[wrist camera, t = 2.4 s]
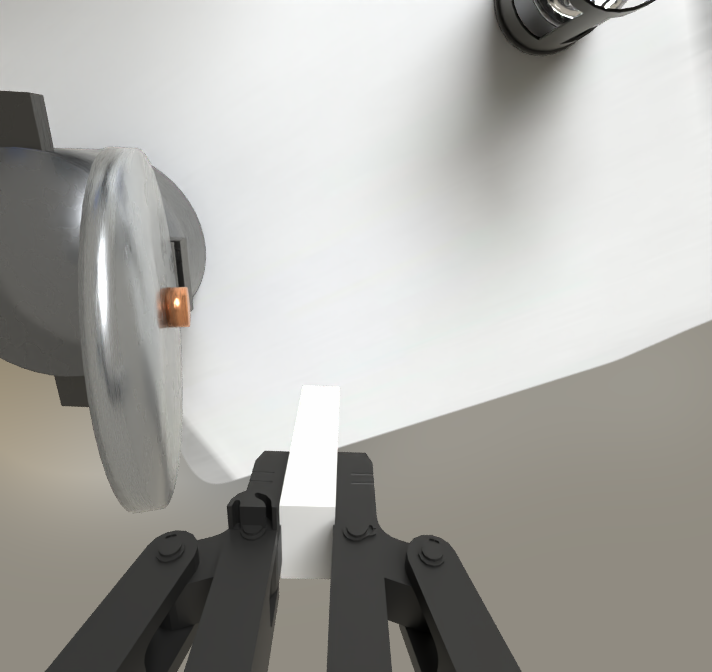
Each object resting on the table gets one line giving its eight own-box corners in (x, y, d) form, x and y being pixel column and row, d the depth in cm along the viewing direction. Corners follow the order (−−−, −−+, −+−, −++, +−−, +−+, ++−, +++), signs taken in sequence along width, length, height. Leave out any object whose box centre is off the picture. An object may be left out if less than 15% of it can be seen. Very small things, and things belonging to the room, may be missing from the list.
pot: (-6, 101, 39) (-143, 80, 28) (214, 114, 40) (163, 99, 29) (54, 350, 49) (-32, 407, 38) (230, 357, 50) (196, 415, 39)
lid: (27, 145, 12) (126, 150, 13) (142, 146, 30) (181, 148, 31) (129, 607, 19) (188, 594, 20) (173, 387, 37) (203, 384, 38)
